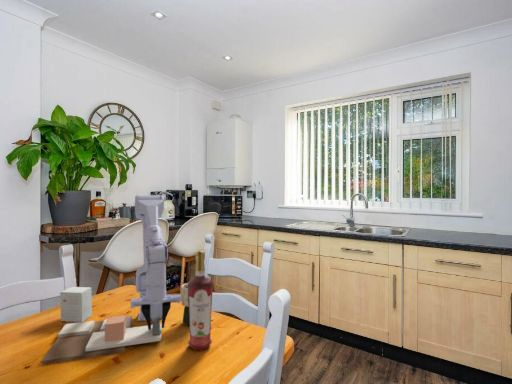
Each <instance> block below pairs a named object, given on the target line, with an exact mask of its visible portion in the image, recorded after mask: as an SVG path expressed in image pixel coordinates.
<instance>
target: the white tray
mask: <svg viewBox="0 0 512 384" xmlns="http://www.w3.org/2000/svg"><path fill="white" fill-rule="evenodd" d="M162 329H163V328H162V323H161V318H160V314H153V319H152V324H151V330H148V325H141V326H134V327H130V328H126V333H125V337H124V339H122V340H115V341H108V342H105V331H102V332H94V333H93V334H92V336H91V338H90V340H89V342H88V344H87V346H86V348H85V352H86V351H93V350H100V349H107V348H114V347H121V346H126V347H127V346H133V345H140V344H147V343H155V342H160V341H162Z"/></svg>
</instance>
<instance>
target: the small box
mask: <svg viewBox="0 0 512 384" xmlns="http://www.w3.org/2000/svg"><path fill="white" fill-rule="evenodd" d="M59 299H60V322H62V321H66V322H65V323H67V322H69V323H79V322H86V320H88V319H89V318H90V317H92V315H93V303H92V299H93V297H92V287H89V286H87V287H85V286H84V287H83V286H71V287H68V288H66V289H64V290H62V291H60V298H59Z"/></svg>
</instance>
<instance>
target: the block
mask: <svg viewBox="0 0 512 384" xmlns="http://www.w3.org/2000/svg"><path fill="white" fill-rule="evenodd" d="M126 317H127V316H126V315H116V316H108V317H107V318H106V319H107V321H106V323H105V342H108V341H115V340H122V339H124V337H125V333H126Z"/></svg>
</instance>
